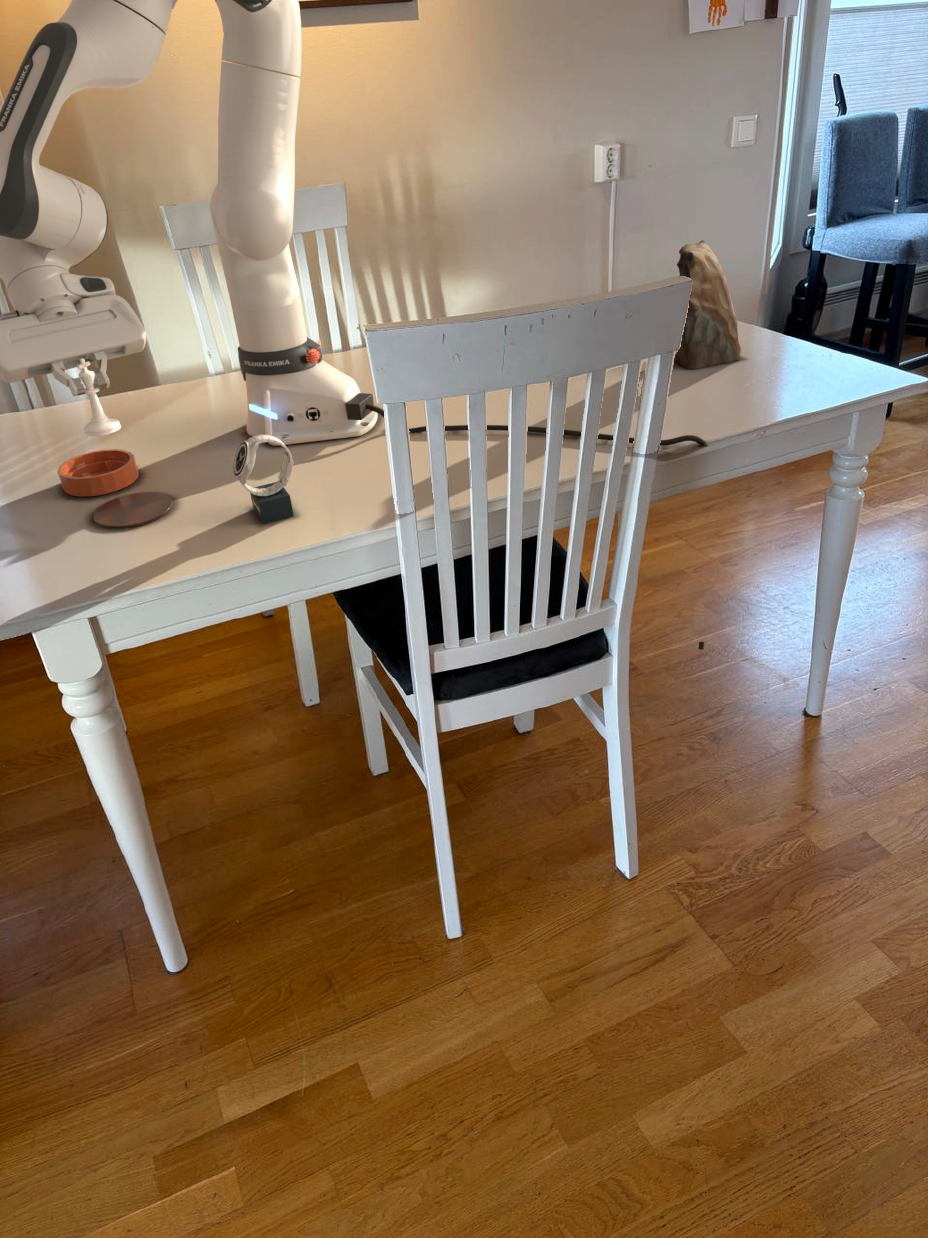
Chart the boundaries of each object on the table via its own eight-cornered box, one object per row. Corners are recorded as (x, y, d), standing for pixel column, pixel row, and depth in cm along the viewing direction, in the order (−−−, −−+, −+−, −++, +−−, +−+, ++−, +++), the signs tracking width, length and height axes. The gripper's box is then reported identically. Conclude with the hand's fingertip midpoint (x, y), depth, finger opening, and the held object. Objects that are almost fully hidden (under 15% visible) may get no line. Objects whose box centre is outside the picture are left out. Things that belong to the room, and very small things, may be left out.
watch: (239, 512, 127) (223, 438, 121) (294, 498, 130) (281, 425, 124) (249, 527, 123) (233, 451, 117) (306, 512, 125) (292, 438, 119)
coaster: (182, 493, 134) (181, 490, 134) (158, 527, 125) (157, 524, 124) (111, 496, 135) (110, 493, 134) (81, 530, 126) (80, 527, 125)
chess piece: (128, 426, 127) (108, 355, 121) (100, 438, 123) (78, 366, 118) (105, 421, 129) (85, 351, 123) (77, 433, 125) (54, 362, 120)
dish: (149, 466, 144) (144, 447, 142) (123, 496, 134) (117, 476, 132) (81, 469, 144) (75, 450, 143) (51, 499, 135) (44, 480, 133)
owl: (686, 371, 165) (693, 256, 154) (649, 354, 175) (654, 245, 164) (743, 359, 168) (755, 246, 157) (704, 343, 178) (712, 235, 167)
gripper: (-33, 306, 116) (12, 397, 115) (121, 276, 126) (165, 359, 124) (-29, 334, 122) (14, 421, 120) (119, 303, 131) (161, 383, 130)
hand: (92, 389), depth 122 cm, fingers closed on chess piece
